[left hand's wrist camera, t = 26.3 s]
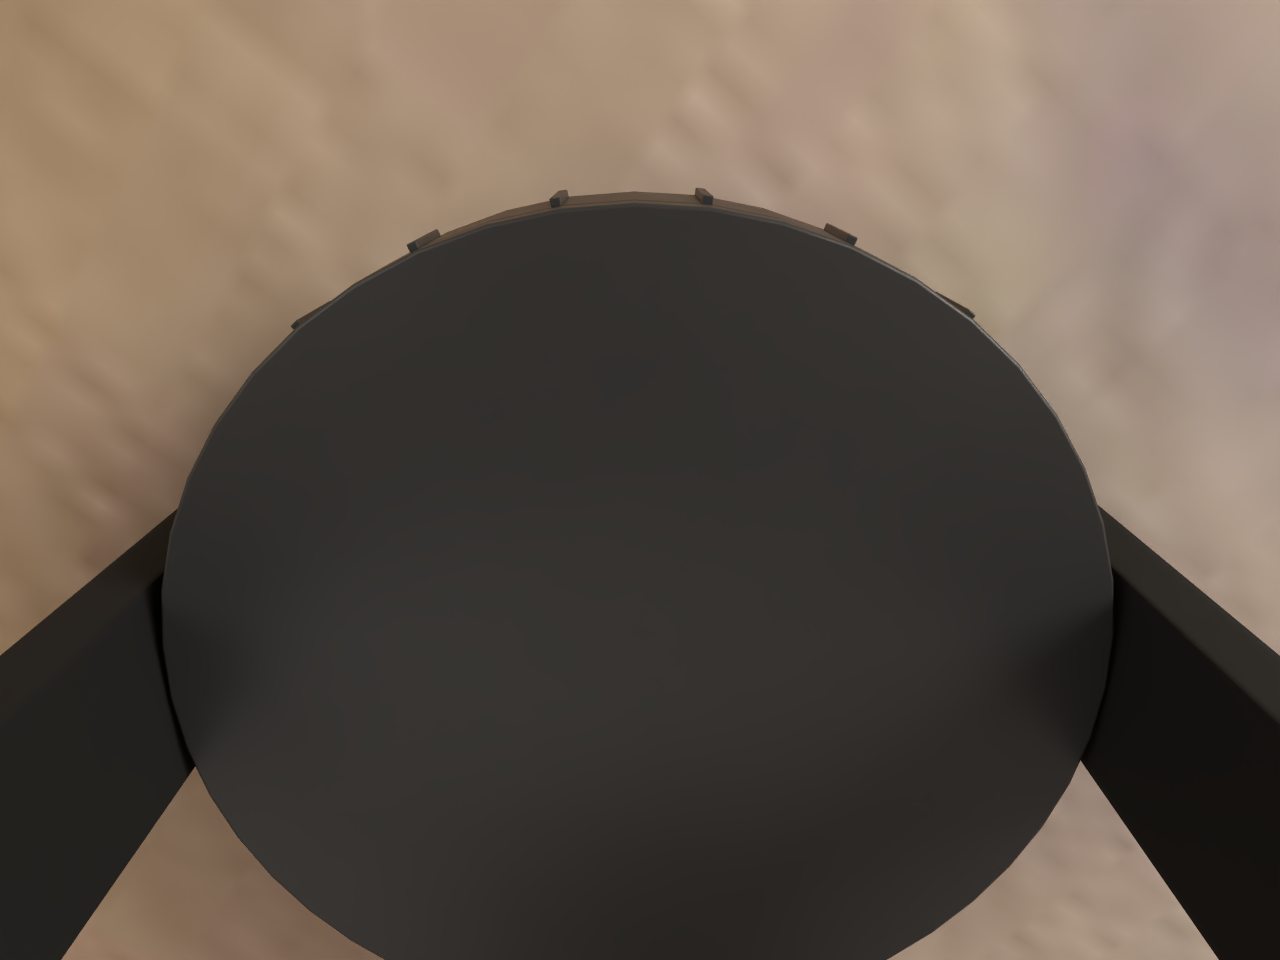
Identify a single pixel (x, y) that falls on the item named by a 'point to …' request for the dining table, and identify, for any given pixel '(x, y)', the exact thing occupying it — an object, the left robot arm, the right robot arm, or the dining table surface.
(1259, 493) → the dining table surface
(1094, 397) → the dining table surface
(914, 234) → the dining table surface
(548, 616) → the lid
